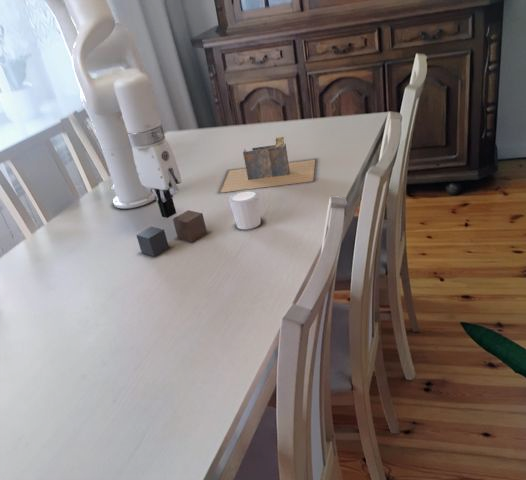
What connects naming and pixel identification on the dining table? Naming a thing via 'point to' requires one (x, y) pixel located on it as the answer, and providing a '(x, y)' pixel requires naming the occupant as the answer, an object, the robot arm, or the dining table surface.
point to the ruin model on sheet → (268, 169)
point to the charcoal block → (152, 241)
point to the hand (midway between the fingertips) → (169, 215)
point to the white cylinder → (246, 209)
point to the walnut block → (190, 226)
